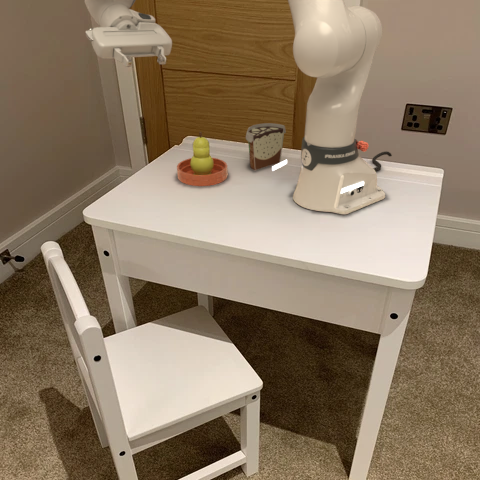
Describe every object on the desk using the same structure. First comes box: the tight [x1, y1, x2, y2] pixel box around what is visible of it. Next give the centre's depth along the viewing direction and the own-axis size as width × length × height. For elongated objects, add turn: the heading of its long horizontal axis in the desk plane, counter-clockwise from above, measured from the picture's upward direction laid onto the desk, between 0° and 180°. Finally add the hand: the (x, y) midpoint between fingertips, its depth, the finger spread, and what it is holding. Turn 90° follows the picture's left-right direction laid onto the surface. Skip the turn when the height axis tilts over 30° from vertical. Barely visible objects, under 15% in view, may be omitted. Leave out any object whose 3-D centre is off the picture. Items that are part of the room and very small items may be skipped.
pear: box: [190, 131, 214, 175], centre depth 126 cm, size 6×6×11 cm
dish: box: [176, 157, 229, 187], centre depth 128 cm, size 13×13×3 cm
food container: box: [245, 122, 287, 172], centre depth 134 cm, size 12×6×10 cm, turn 130°
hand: (146, 63), depth 121 cm, fingers open, 8 cm apart
